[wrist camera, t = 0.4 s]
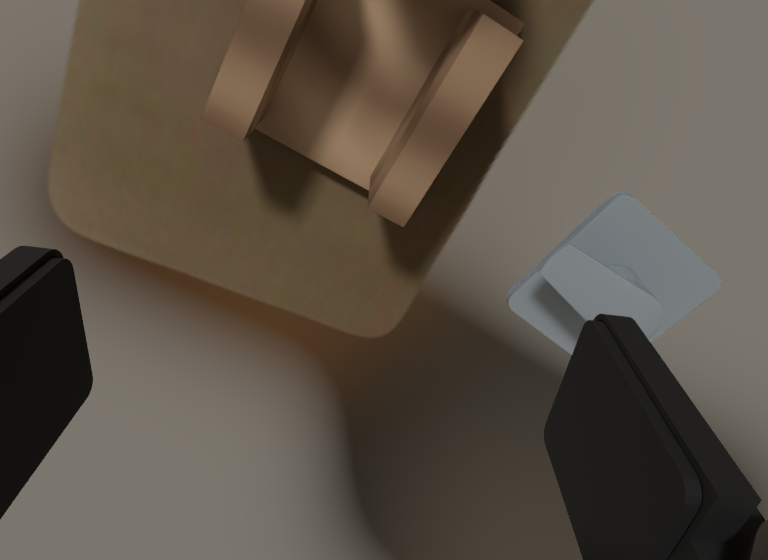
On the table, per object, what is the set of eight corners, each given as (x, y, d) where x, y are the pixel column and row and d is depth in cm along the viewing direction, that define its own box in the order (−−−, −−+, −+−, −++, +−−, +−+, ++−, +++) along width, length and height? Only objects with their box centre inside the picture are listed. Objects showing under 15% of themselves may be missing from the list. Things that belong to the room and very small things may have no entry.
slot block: (303, -126, 30) (281, -153, 24) (520, 22, 34) (551, 32, 27) (213, 100, 36) (176, 126, 30) (405, 204, 40) (409, 247, 33)
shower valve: (627, 189, 34) (762, 315, 38) (597, 163, 38) (721, 278, 43) (488, 318, 38) (623, 416, 43) (477, 280, 43) (600, 372, 48)
